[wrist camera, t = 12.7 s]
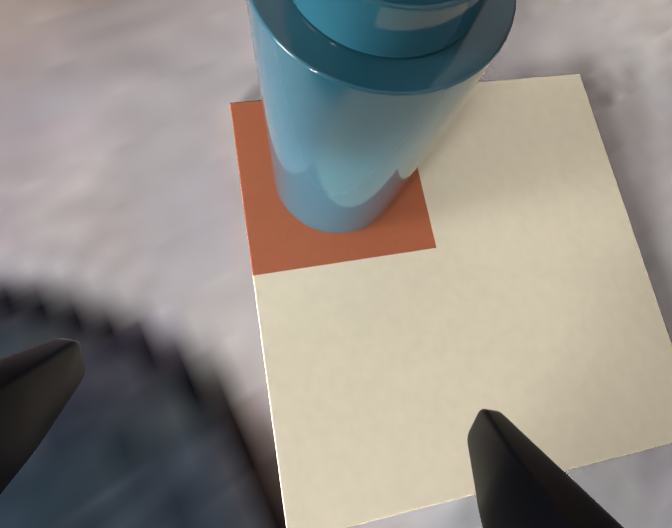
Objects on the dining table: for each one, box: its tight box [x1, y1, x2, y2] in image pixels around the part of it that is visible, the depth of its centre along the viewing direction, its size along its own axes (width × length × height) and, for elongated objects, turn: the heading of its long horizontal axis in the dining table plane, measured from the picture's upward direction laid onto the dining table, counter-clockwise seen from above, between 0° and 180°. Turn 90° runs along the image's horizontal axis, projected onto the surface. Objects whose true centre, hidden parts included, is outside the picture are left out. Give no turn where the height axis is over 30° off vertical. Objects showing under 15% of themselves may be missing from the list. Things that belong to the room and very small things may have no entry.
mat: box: [230, 74, 672, 528], centre depth 17 cm, size 20×20×1 cm
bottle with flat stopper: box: [246, 0, 516, 233], centre depth 11 cm, size 6×6×13 cm
